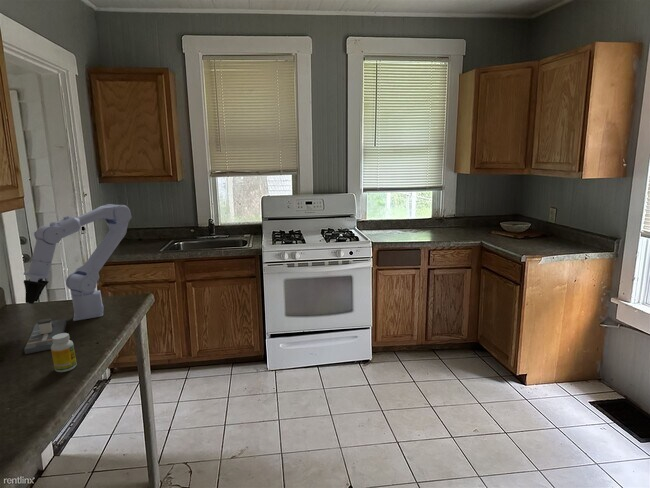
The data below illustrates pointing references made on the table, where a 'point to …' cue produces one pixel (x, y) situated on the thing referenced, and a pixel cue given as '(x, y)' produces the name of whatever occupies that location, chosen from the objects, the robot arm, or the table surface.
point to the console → (44, 337)
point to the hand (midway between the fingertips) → (31, 302)
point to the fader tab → (45, 326)
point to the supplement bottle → (63, 353)
